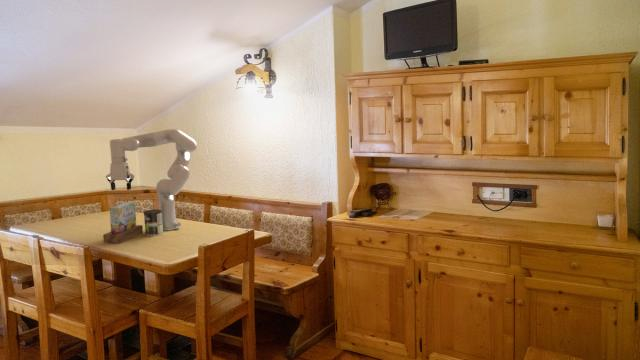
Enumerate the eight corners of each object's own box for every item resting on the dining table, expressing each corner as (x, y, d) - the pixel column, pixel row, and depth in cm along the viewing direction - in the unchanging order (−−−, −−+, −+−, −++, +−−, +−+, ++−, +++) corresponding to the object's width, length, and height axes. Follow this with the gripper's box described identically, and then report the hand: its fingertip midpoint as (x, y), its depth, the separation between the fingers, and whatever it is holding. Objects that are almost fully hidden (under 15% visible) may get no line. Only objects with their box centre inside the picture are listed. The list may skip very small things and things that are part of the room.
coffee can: (149, 236, 268) (148, 213, 267) (142, 234, 276) (140, 211, 274) (166, 233, 276) (164, 210, 274) (158, 231, 283) (157, 208, 281)
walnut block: (143, 233, 278) (142, 225, 277) (120, 243, 254) (119, 234, 254) (127, 233, 279) (127, 225, 279) (103, 243, 256) (103, 234, 255)
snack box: (120, 234, 256) (118, 207, 254) (110, 234, 256) (108, 207, 254) (137, 225, 277) (135, 201, 275) (128, 225, 277) (126, 201, 275)
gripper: (136, 159, 265) (138, 188, 268) (108, 160, 268) (111, 188, 270) (129, 160, 258) (131, 190, 260) (100, 161, 260) (103, 190, 262)
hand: (121, 189), depth 265 cm, fingers open, 9 cm apart
